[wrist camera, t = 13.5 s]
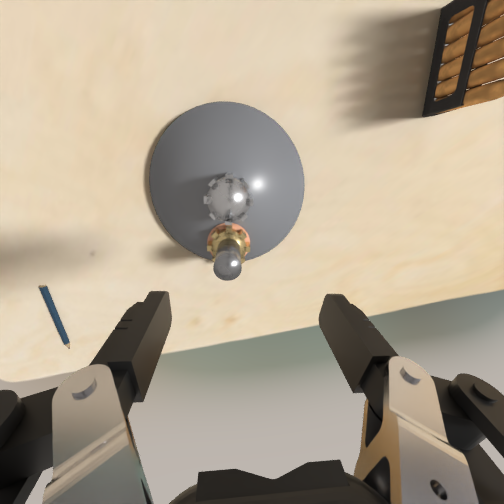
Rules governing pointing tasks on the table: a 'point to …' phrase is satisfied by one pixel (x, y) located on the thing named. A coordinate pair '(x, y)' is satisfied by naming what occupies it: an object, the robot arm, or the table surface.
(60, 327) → the pencil
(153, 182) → the carrier plate
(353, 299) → the table surface
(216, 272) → the planet gear
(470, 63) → the ammunition clip
